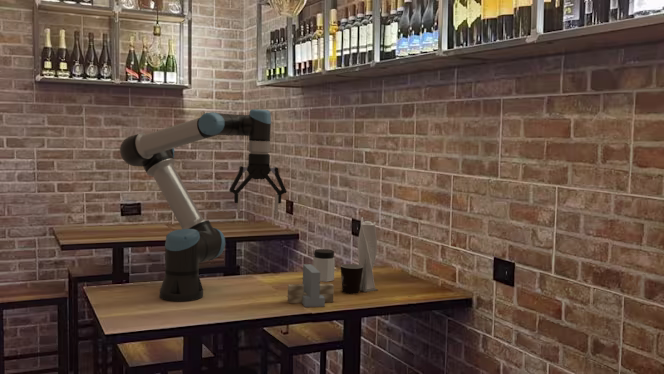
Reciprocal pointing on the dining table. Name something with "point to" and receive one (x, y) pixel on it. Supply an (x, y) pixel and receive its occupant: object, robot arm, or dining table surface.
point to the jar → (324, 264)
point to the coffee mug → (351, 278)
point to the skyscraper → (367, 254)
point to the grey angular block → (312, 287)
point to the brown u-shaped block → (297, 293)
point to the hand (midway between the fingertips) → (257, 212)
